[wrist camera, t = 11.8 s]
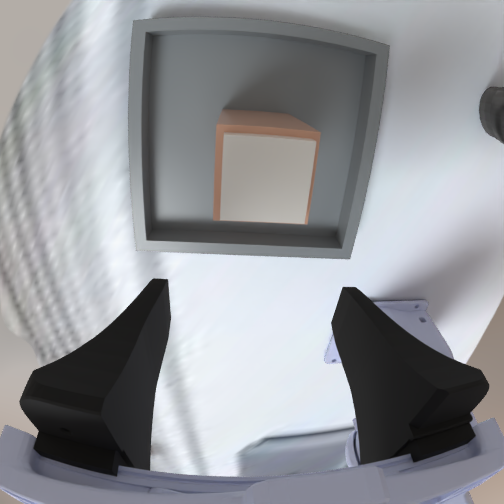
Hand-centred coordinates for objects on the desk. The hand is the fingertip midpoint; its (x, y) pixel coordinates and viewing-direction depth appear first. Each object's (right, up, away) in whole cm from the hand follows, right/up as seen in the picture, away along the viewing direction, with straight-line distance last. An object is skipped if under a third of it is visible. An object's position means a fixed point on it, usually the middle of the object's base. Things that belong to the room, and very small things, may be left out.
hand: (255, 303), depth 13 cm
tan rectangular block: (0, +9, +6) cm, 11 cm away
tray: (0, +9, +6) cm, 11 cm away
